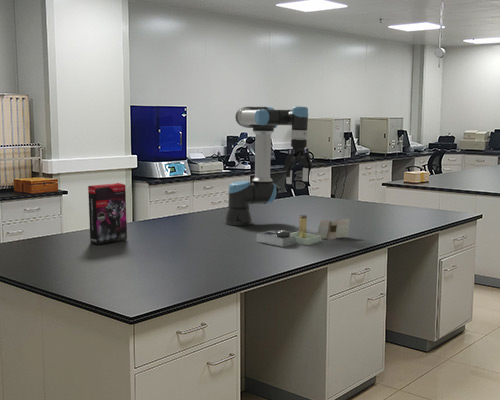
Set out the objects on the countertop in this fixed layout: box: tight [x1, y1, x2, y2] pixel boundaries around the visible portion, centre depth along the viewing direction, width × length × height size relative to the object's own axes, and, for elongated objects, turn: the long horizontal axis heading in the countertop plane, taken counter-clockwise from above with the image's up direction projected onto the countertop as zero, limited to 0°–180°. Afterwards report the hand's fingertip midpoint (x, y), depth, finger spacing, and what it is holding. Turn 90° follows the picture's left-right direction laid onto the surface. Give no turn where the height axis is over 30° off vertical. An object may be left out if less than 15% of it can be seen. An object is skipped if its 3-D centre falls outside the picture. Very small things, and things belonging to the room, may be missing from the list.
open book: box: [316, 218, 350, 241], centre depth 311 cm, size 16×9×15 cm
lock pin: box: [298, 214, 308, 239], centre depth 298 cm, size 4×4×12 cm
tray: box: [290, 231, 322, 246], centre depth 299 cm, size 14×12×3 cm
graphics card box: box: [87, 182, 128, 246], centre depth 286 cm, size 17×7×27 cm, turn 137°
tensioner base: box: [256, 229, 296, 248], centre depth 294 cm, size 16×10×7 cm, turn 49°
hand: (297, 182), depth 297 cm, fingers open, 13 cm apart
